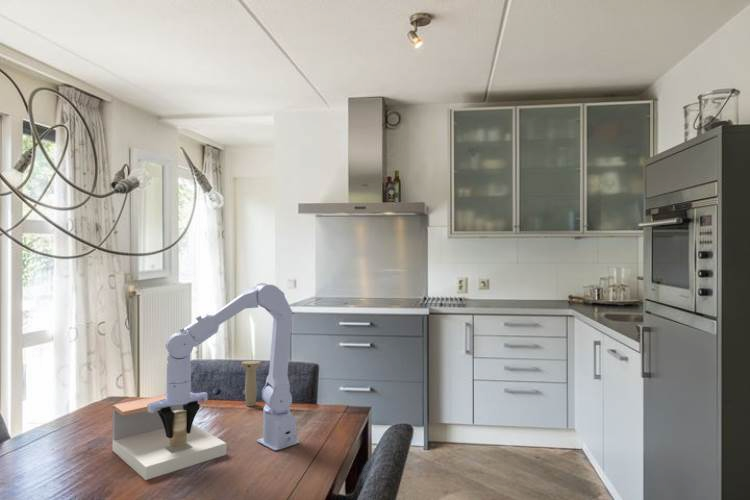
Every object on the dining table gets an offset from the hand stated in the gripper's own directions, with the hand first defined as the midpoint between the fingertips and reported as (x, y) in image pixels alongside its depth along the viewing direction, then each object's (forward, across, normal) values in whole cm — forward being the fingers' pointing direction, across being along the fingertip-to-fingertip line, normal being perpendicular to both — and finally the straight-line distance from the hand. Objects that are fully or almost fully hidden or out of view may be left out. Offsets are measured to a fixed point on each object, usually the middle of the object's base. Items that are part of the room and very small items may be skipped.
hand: (178, 434), depth 120 cm
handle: (+6, -36, -26) cm, 45 cm away
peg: (+2, 0, 0) cm, 2 cm away
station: (+6, 0, -6) cm, 9 cm away
